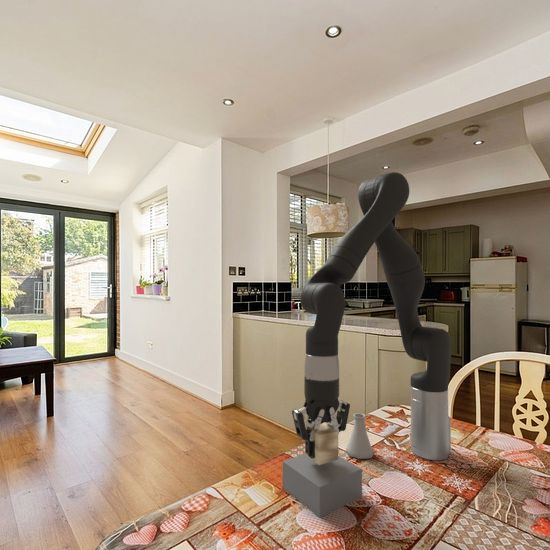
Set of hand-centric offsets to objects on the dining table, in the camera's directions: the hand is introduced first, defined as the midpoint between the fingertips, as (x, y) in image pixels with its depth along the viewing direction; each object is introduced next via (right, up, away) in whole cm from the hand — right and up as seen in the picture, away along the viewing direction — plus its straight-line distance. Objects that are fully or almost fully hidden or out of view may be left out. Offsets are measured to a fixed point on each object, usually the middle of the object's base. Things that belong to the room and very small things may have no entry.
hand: (321, 453), depth 75 cm
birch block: (0, -1, 0) cm, 1 cm away
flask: (+12, -9, +17) cm, 23 cm away
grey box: (0, -8, 0) cm, 8 cm away
